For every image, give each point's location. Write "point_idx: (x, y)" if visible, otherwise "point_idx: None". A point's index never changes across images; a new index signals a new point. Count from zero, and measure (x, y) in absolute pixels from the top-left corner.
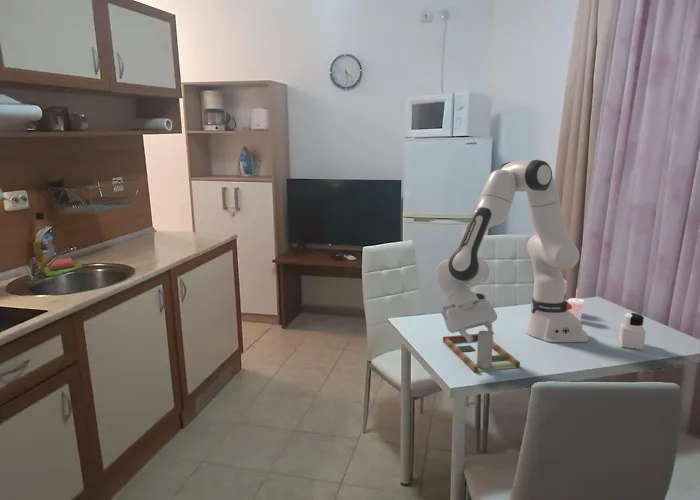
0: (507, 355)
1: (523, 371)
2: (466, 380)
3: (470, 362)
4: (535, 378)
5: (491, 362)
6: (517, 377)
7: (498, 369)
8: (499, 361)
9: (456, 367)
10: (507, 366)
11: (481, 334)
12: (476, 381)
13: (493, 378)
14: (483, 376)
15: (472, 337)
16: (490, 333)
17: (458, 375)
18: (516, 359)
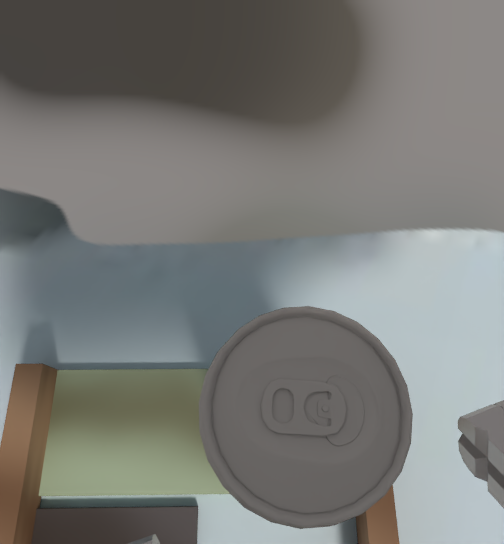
0: (18, 517)
1: (49, 316)
2: (448, 279)
3: None
4: (46, 222)
5: (183, 490)
6: (137, 253)
7: (192, 369)
8: (114, 493)
9: (467, 476)
10: (108, 395)
11: (382, 378)
12: (393, 256)
13: (281, 270)
14: (329, 305)
15: (484, 424)
16: (237, 382)
17: (481, 350)
18: (6, 416)
